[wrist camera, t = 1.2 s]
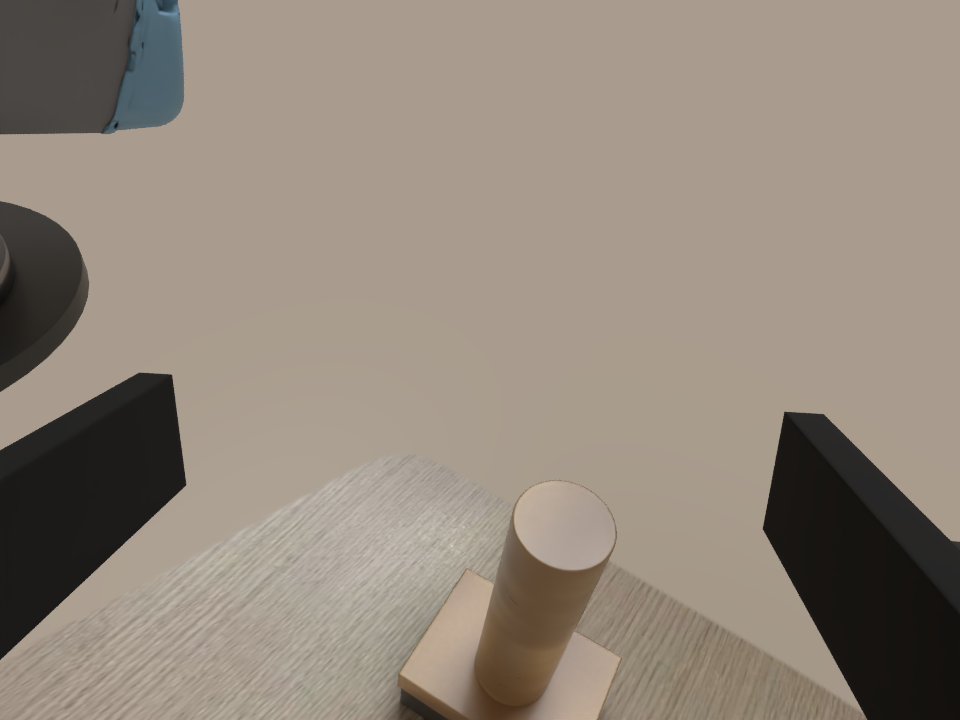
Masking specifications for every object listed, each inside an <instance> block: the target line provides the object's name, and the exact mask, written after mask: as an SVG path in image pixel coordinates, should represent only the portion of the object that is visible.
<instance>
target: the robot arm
mask: <svg viewBox="0 0 960 720" xmlns="http://www.w3.org/2000/svg"><path fill="white" fill-rule="evenodd" d="M181 37H182V36H181V24H180V13H179V7H178V0H0V134H49V133H50V134H52V133H53V134H54V133H102V134H111V133H114V132H115V131H116V130H125V129H136V128H146V127H158V126H162V125H165V124H167V123H169V122H171V121H172V120H173V119H175V118H176V116H177V115H178V114H179V113H180V111H181V108H182V105H183V101H184V100H183V99H184V73H183V53H182V38H181ZM14 275H15V265H14V262H13V259H12V256H11V254H10V252H9V250H8V247H7V245H6V243H5V241H4V239H3V237H2V236H1V234H0V303H1V302H2V301H3V300H4V298H5V297H6V295H7V294H8V292H9V290H10V288H11V286H12V283H13V280H14ZM185 486H186V479H185V471H184V464H183V456H182V448H181V441H180V434H179V426H178V417H177V410H176V402H175V394H174V387H173V379H172V375H168V374H153V373H138V374H136V375H134V376H133V377H131V378H129V379H127V380H125V381H124V382H122V383H120V384H118V385H116V386H115V387H113V388H111V389H109V390H107V391H106V392H104V393H102V394H100V395H98V396H97V397H95V398H93V399H91V400H89V401H88V402H86V403H84V404H82V405H80V406H79V407H77V408H75V409H74V410H72V411H70V412H68V413H66V414H64V415H63V416H61V417H59V418H57V419H56V420H54V421H52V422H50V423H48V424H47V425H45V426H43V427H41V428H39V429H38V430H36V431H34V432H32V433H30V434H29V435H27V436H25V437H24V438H21V439H20V440H18V441H16V442H14V443H13V444H11V445H9V446H7V447H5V448H4V449H2V450H0V660H1V659H2V658H3V657H4V656H5V655H6V654H7V653H8V652H9V651H10V650H11V649H12V648H13V647H14V646H15V645H17V644H18V643H19V642H20V641H21V640H22V639H23V638H24V637H25V636H26V635H27V634H28V633H29V632H30V631H32V630H33V629H34V628H35V627H36V626H37V625H38V624H39V623H40V622H41V621H42V620H43V619H44V618H45V617H46V616H47V615H49V614H50V613H51V612H52V611H53V610H54V609H55V608H56V607H57V606H58V605H59V604H60V603H61V602H62V601H63V600H64V599H66V598H67V597H68V596H69V595H70V594H71V593H72V592H73V591H74V590H75V589H76V588H77V587H78V586H79V585H80V584H82V583H83V582H84V581H85V580H86V579H87V578H88V577H89V576H90V575H91V574H92V573H93V572H94V571H95V570H96V569H98V568H99V567H100V566H101V565H102V564H103V563H104V562H105V561H106V560H107V559H108V558H109V557H110V556H111V555H112V554H114V553H115V551H117V550H118V549H119V548H120V547H121V546H122V545H123V544H124V543H125V542H126V541H127V540H128V539H129V538H131V536H133V535H134V534H135V533H136V532H137V531H138V530H139V529H140V528H141V527H142V526H143V525H144V524H145V523H147V522H148V521H149V520H150V519H151V517H153V516H154V515H155V514H156V513H157V512H158V511H159V510H160V509H161V508H162V507H163V506H165V505H166V504H167V503H168V502H169V501H170V500H171V499H172V498H173V497H174V496H175V495H176V494H177V493H178V492H179V491H180V490H182V489H183V488H184V487H185ZM763 530H764V532H765V534H766V535H767V537H768V539H769V541H770V543H771V545H772V547H773V548H774V550H775V552H776V554H777V555H778V557H779V559H780V561H781V563H782V565H783V567H784V568H785V570H786V572H787V574H788V576H789V578H790V579H791V581H792V583H793V585H794V587H795V588H796V590H797V592H798V594H799V596H800V598H801V599H802V601H803V603H804V605H805V607H806V608H807V610H808V612H809V614H810V616H811V617H812V619H813V621H814V623H815V625H816V627H817V629H818V630H819V632H820V634H821V636H822V637H823V639H824V641H825V643H826V645H827V647H828V649H829V650H830V652H831V654H832V656H833V658H834V659H835V661H836V663H837V665H838V667H839V669H840V671H841V672H842V674H843V676H844V678H845V680H846V681H847V683H848V685H849V687H850V689H851V691H852V692H853V694H854V696H855V698H856V700H857V701H858V703H859V705H860V707H861V709H862V711H863V712H864V714H865V716H866V718H867V720H960V542H955V541H954V542H953V541H950V540H949V539H948V538H947V537H946V536H945V535H944V534H943V533H942V532H941V531H940V530H939V529H938V528H937V527H936V526H935V525H934V524H933V523H932V522H931V521H930V520H929V519H928V518H927V517H926V516H925V515H924V514H923V513H922V512H921V511H920V510H919V509H918V508H917V507H916V506H915V505H914V504H913V503H912V502H911V501H910V500H909V499H908V498H907V497H906V496H905V495H904V494H903V493H902V492H901V491H900V490H899V489H898V488H897V487H896V486H895V485H894V484H893V483H892V482H891V481H890V480H889V479H888V478H887V477H886V476H885V475H884V474H883V473H882V472H881V471H880V470H879V469H878V468H877V467H876V466H875V465H874V464H873V463H872V462H871V461H870V460H869V459H868V458H867V457H866V456H865V455H864V454H863V453H862V452H861V451H860V450H859V449H858V448H857V447H856V446H855V445H854V444H853V443H852V442H851V441H850V440H849V439H848V438H847V437H846V436H845V435H844V434H843V433H842V432H841V431H840V430H839V429H838V428H837V427H836V426H835V425H834V424H833V423H832V422H831V421H830V420H829V419H828V418H827V417H826V416H825V415H824V414H811V413H795V412H784V418H783V423H782V428H781V434H780V439H779V444H778V450H777V455H776V461H775V466H774V471H773V477H772V482H771V488H770V493H769V498H768V504H767V509H766V515H765V520H764V526H763Z"/></svg>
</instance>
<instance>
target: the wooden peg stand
mask: <svg viewBox="0 0 960 720" xmlns="http://www.w3.org/2000/svg"><path fill="white" fill-rule="evenodd" d="M616 534H617V532H616V525H615V521H614V518H613V516H612V514H611V512H610V510H609V508H608V507H607V506H606V504H605V503H604V502H603V501H602V500H601V499H600V498H599V497H598V496H597V495H596V494H594V493H593V492H592V491H590V490H588V489H587V488H585V487H583V486H581V485H578V484H575V483H572V482H568V481H561V480H553V481H545V482H541V483H538V484H536V485H534V486H532V487H530V488H529V489H527V490H526V491H525V492H524V493H523V494H522V495H521V496H520V497H519V499H518V500H517V502H516V504H515V507H514V510H513V513H512V517H511V521H510V525H509V529H508V533H507V536H506V540H505V544H504V548H503V552H502V556H501V560H500V563H499V567H498V571H497V575H496V579H495V583H494V584H493V583H492V582H490V581H488V580H486V579H485V578H483V577H481V576H480V575H478V574H476V573H474V572H473V571H471V570H469V569H466V570H465V571H464V573H463V575H462V576H461V578H460V579H459V581H458V582H457V584H456V585H455V587H454V588H453V590H452V592H451V593H450V595H449V596H448V598H447V599H446V601H445V602H444V604H443V605H442V607H441V609H440V610H439V612H438V613H437V615H436V616H435V618H434V619H433V621H432V622H431V624H430V626H429V627H428V629H427V630H426V632H425V633H424V635H423V636H422V638H421V639H420V641H419V643H418V644H417V646H416V647H415V649H414V650H413V652H412V653H411V655H410V656H409V658H408V660H407V661H406V663H405V664H404V666H403V667H402V669H401V670H400V672H399V674H398V686H399V687H400V688H401V698H400V702H401V703H403V704H404V705H406V706H407V707H409V708H410V709H412V710H413V711H415V712H416V713H418V714H419V715H421V716H422V717H424V718H425V719H426V720H598V718H599V715H600V713H601V710H602V708H603V705H604V703H605V700H606V697H607V695H608V692H609V690H610V687H611V685H612V682H613V680H614V677H615V675H616V672H617V670H618V667H619V665H620V662H621V660H622V658H621V657H620V656H618V655H616V654H614V653H613V652H611V651H609V650H607V649H606V648H604V647H602V646H601V645H599V644H597V643H595V642H594V641H592V640H590V639H588V638H587V637H585V636H583V635H582V634H580V633H578V632H576V631H575V629H576V627H577V625H578V623H579V621H580V619H581V617H582V614H583V612H584V610H585V608H586V606H587V604H588V602H589V600H590V598H591V596H592V593H593V591H594V589H595V587H596V585H597V583H598V581H599V579H600V577H601V575H602V573H603V570H604V568H605V566H606V564H607V562H608V560H609V558H610V556H611V554H612V552H613V549H614V547H615V544H616V536H617V535H616Z"/></svg>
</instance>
